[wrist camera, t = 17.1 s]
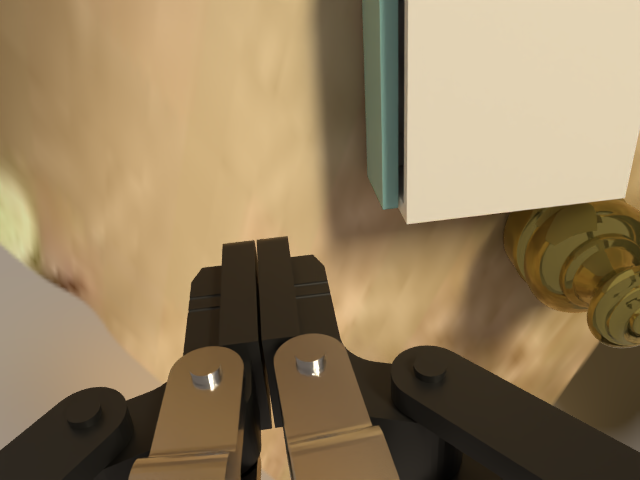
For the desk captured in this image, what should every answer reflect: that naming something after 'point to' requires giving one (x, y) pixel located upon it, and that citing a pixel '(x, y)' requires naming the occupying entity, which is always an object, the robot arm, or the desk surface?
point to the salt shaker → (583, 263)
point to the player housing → (517, 105)
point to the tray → (384, 95)
